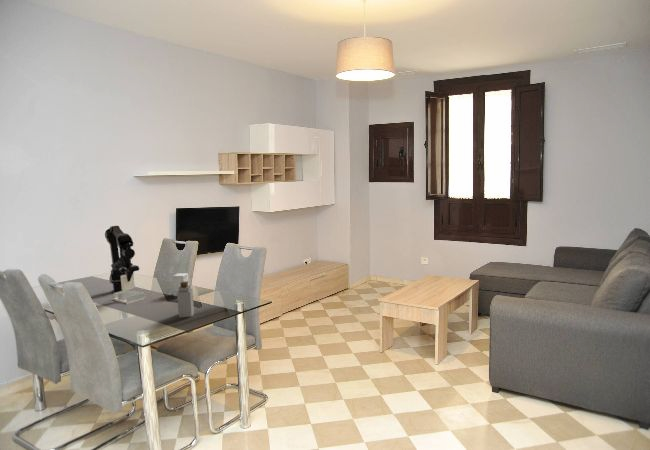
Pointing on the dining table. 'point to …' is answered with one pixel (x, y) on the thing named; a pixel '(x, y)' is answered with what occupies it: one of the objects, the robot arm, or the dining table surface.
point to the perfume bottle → (185, 300)
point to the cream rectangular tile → (127, 283)
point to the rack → (128, 296)
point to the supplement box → (179, 281)
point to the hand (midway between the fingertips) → (127, 281)
